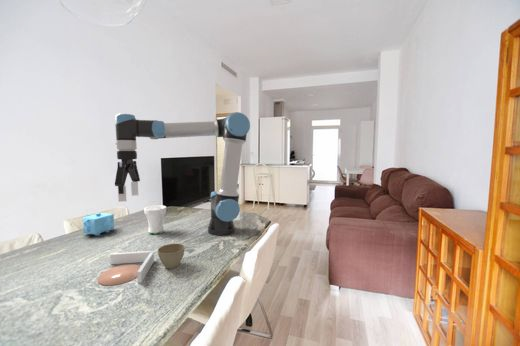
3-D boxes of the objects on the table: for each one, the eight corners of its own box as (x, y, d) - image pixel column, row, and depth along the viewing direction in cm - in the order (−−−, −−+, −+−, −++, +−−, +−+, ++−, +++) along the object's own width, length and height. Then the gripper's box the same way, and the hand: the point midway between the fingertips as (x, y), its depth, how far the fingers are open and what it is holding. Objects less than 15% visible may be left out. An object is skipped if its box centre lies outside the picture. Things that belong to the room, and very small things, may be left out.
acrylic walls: (154, 259, 96) (154, 250, 96) (141, 282, 79) (140, 271, 79) (112, 262, 93) (111, 253, 93) (88, 287, 76) (88, 275, 76)
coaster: (147, 263, 92) (147, 262, 92) (134, 283, 79) (134, 282, 79) (108, 266, 90) (108, 265, 90) (89, 287, 76) (89, 286, 76)
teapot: (96, 239, 117) (94, 218, 116) (72, 235, 124) (71, 214, 123) (123, 230, 132) (122, 210, 131) (101, 226, 138) (100, 208, 137)
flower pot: (190, 262, 94) (189, 245, 94) (173, 274, 85) (173, 255, 84) (170, 258, 98) (169, 241, 97) (152, 269, 88) (151, 251, 88)
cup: (167, 228, 136) (166, 204, 134) (166, 234, 125) (165, 209, 124) (146, 230, 132) (145, 206, 131) (143, 237, 122) (142, 210, 120)
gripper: (129, 150, 113) (131, 193, 114) (102, 150, 88) (105, 204, 90) (145, 150, 114) (147, 193, 116) (123, 150, 89) (126, 204, 91)
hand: (129, 198), depth 103 cm, fingers open, 13 cm apart
